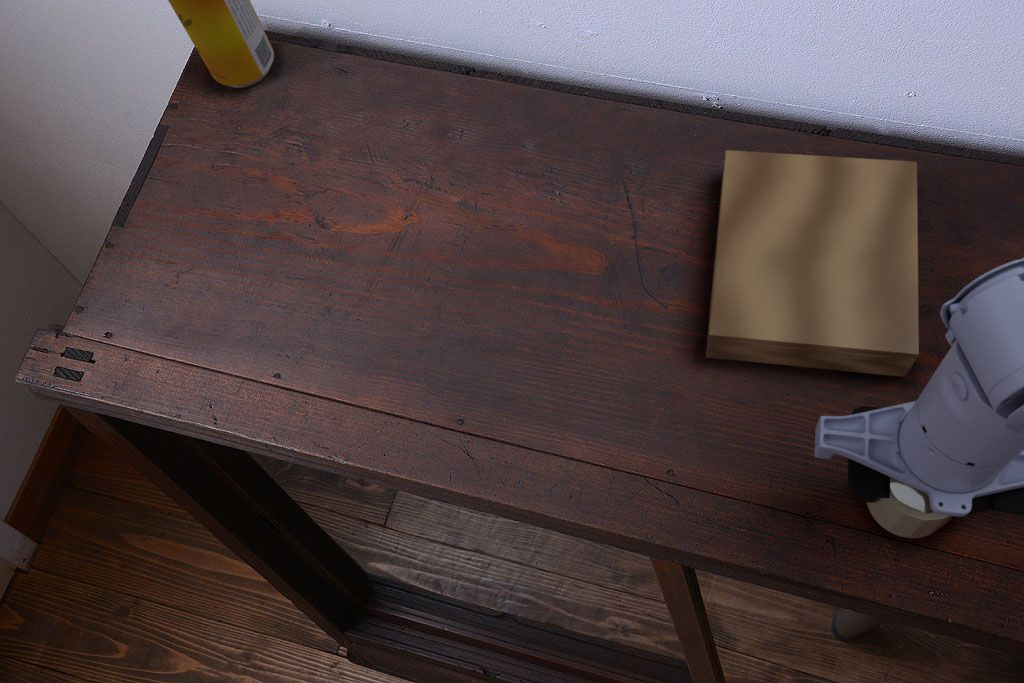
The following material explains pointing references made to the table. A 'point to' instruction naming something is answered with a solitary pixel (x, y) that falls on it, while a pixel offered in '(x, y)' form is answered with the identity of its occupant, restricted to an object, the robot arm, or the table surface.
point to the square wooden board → (816, 263)
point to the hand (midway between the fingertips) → (911, 493)
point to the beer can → (227, 39)
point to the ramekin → (906, 512)
